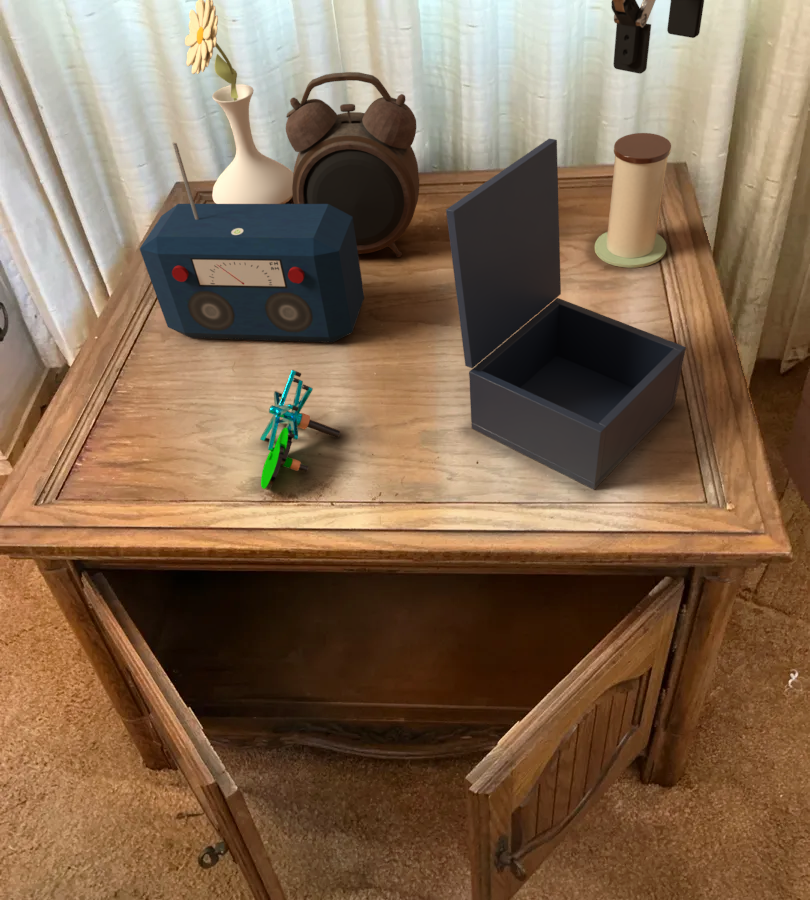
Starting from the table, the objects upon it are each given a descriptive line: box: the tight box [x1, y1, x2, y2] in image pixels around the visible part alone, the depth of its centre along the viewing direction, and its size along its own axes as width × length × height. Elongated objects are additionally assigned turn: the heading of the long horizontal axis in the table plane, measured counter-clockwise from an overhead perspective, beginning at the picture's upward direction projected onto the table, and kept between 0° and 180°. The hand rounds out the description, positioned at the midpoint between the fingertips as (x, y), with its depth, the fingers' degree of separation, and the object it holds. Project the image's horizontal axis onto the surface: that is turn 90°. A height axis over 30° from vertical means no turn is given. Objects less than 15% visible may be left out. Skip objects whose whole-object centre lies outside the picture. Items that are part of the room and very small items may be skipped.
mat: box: [594, 231, 667, 269], centre depth 97 cm, size 8×8×1 cm
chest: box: [468, 297, 687, 490], centre depth 77 cm, size 14×14×7 cm
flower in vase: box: [184, 0, 294, 204], centre depth 103 cm, size 13×11×25 cm
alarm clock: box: [285, 71, 420, 258], centre depth 95 cm, size 15×7×20 cm, turn 86°
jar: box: [606, 132, 672, 258], centre depth 93 cm, size 6×6×12 cm
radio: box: [139, 142, 365, 343], centre depth 87 cm, size 21×9×20 cm, turn 80°
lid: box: [445, 138, 562, 369], centre depth 73 cm, size 14×14×1 cm
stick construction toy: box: [259, 369, 341, 491], centre depth 79 cm, size 12×7×8 cm
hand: (656, 52), depth 81 cm, fingers open, 9 cm apart
